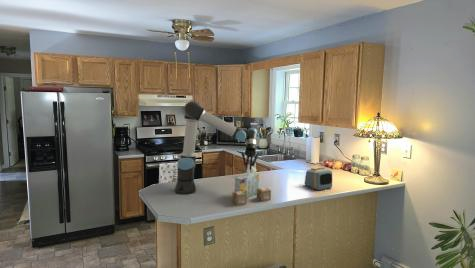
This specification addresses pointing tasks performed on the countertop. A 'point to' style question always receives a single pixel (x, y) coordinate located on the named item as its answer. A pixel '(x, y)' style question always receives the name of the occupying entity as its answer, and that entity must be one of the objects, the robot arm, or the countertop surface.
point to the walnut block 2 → (263, 194)
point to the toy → (251, 169)
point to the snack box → (247, 183)
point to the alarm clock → (318, 178)
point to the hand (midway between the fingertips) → (248, 173)
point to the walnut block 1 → (239, 198)
